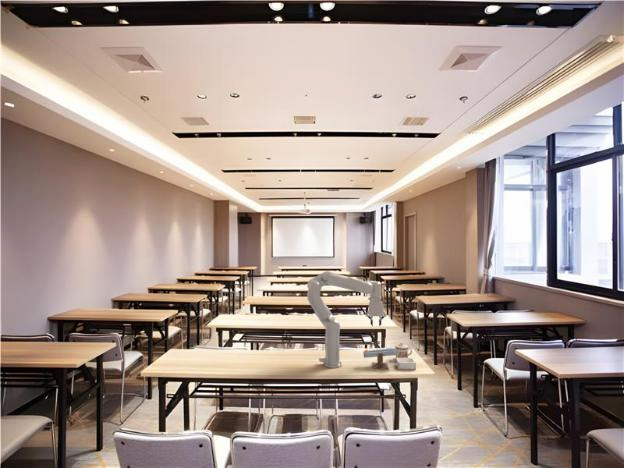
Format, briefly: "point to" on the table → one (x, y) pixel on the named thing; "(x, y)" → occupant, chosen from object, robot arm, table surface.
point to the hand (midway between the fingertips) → (375, 325)
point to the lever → (380, 352)
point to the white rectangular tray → (406, 363)
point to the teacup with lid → (402, 351)
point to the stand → (380, 363)
